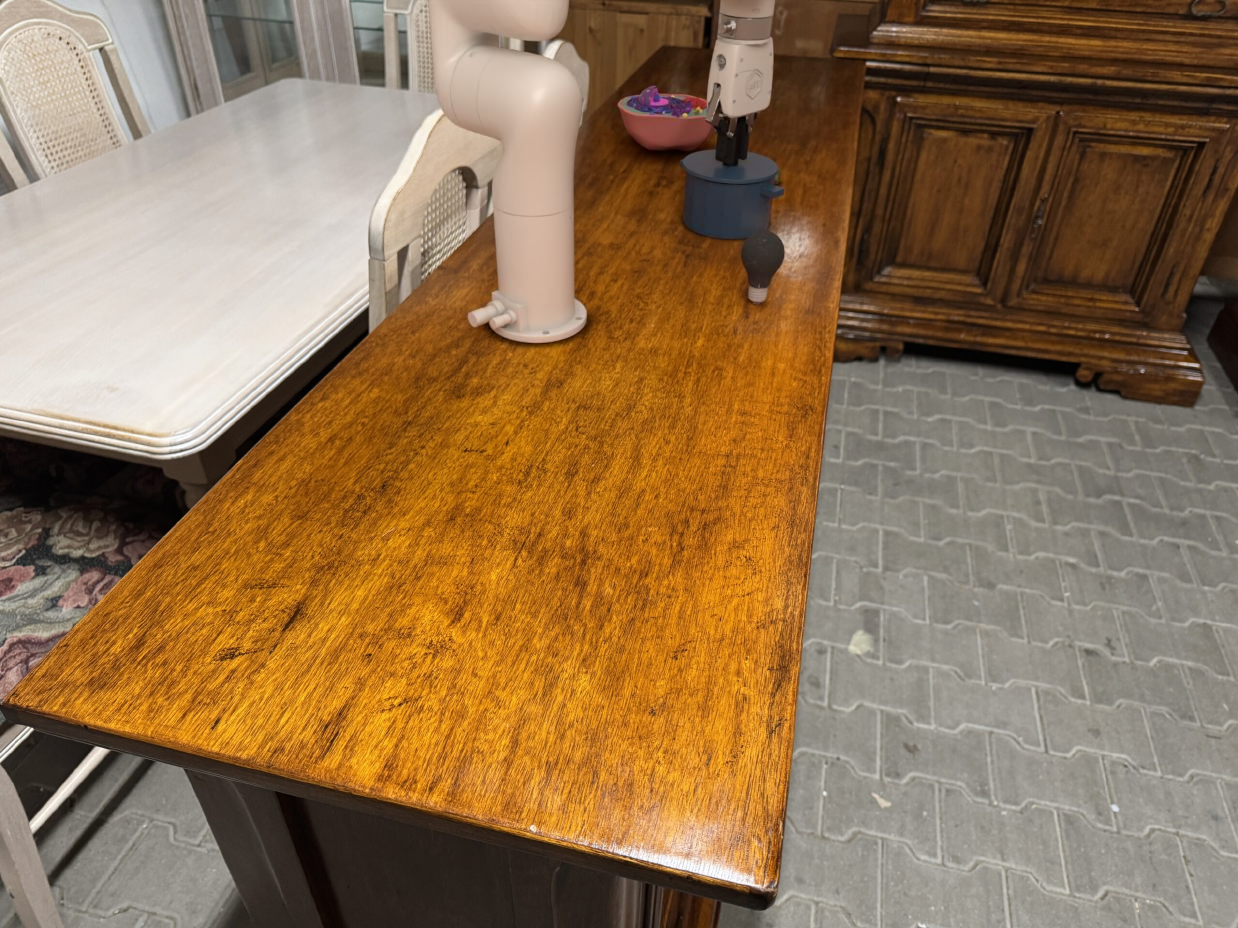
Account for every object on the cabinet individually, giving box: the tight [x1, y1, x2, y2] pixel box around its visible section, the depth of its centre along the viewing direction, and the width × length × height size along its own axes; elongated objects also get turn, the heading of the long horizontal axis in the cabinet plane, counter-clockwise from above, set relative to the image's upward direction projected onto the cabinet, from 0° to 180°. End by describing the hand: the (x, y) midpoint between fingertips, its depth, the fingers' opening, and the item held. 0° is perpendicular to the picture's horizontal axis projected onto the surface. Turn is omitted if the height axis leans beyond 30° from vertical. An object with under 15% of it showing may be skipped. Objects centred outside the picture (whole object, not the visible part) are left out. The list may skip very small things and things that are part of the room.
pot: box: [679, 158, 785, 240], centre depth 138 cm, size 14×19×8 cm
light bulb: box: [740, 230, 786, 305], centre depth 115 cm, size 6×6×10 cm
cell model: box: [617, 85, 715, 152], centre depth 166 cm, size 17×20×11 cm
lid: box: [682, 125, 779, 184], centre depth 133 cm, size 15×15×7 cm
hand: (730, 159), depth 134 cm, fingers closed on lid, 2 cm apart
